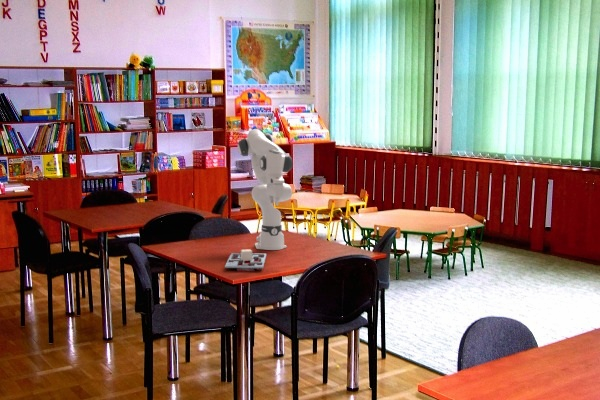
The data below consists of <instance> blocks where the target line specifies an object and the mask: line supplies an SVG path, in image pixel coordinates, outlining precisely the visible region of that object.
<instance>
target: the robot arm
mask: <svg viewBox="0 0 600 400" xmlns="http://www.w3.org/2000/svg"><path fill="white" fill-rule="evenodd" d="M273 138H274V137H272V135H271V134H270V133H268V132H262V130H261V129H257V128H254V129H250V130H249V131H248V132H247V136H246V138H242V139H240V140H238V142H237V151H238V152H239V154H240V155H241V156H242V157H249V156H250V155H251V157H250V160H251V161H250V162H251V166H252V167H251V168H252V169H253V172H254V174H255V175H254V176H255V177H256V180H257V182H258V183H259V184H258V185H255V186H253V187H252V189H251V197H252V199H253V201H254V202H255V203H256V204H257V205H258V206H259V207H260V210H261V214H262V225H261V227H260V228H261V231H260V233H259V235H258V236H256V239H255V240H256V241H257V242H255V243H254V246H255V248H256V250H266V251H278V250H283V249H285V248H287V245H286V244H285V235H284V233H283V232H282V229H283V228H282V212H281V211H280V210H279V209H278V208H276V207H275V206H279V204H280V202H281V203H282V202H287V201H289V200H290V199H291V197H292V195H293V189H292V187H291V186H290V185H289V184H288V183H285V179H284V178H283V177H284V176H283V173H289V171H291V170H292V169H293V166H294V161H293V158H292V157H291V155H290V154H287V153H286V152H285V151H284V150H283V149H282V148H281V147H280V146H279V145H278V144H276V143H275V142H274V139H273ZM274 205H275V206H274Z"/></svg>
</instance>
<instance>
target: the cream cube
mask: <svg viewBox="0 0 600 400" xmlns="http://www.w3.org/2000/svg"><path fill="white" fill-rule="evenodd" d="M240 253H241V259H242V260H243V261H249V260H252V253H253V250H251V249H250V248H249V249H241V250H240Z"/></svg>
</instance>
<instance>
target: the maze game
mask: <svg viewBox="0 0 600 400" xmlns="http://www.w3.org/2000/svg"><path fill="white" fill-rule="evenodd" d="M266 258H267V253H264V252H263V253H258V252H257V253H256V252H255V253H254V252H252V260H249V261H243V260H242V259H241V252H231V253H230V255H229V256H228V258H227V261H226V263H225V265H224V268H226V269H236V271H237V272H255V271H263V269H264V266H265V262H266Z"/></svg>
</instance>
